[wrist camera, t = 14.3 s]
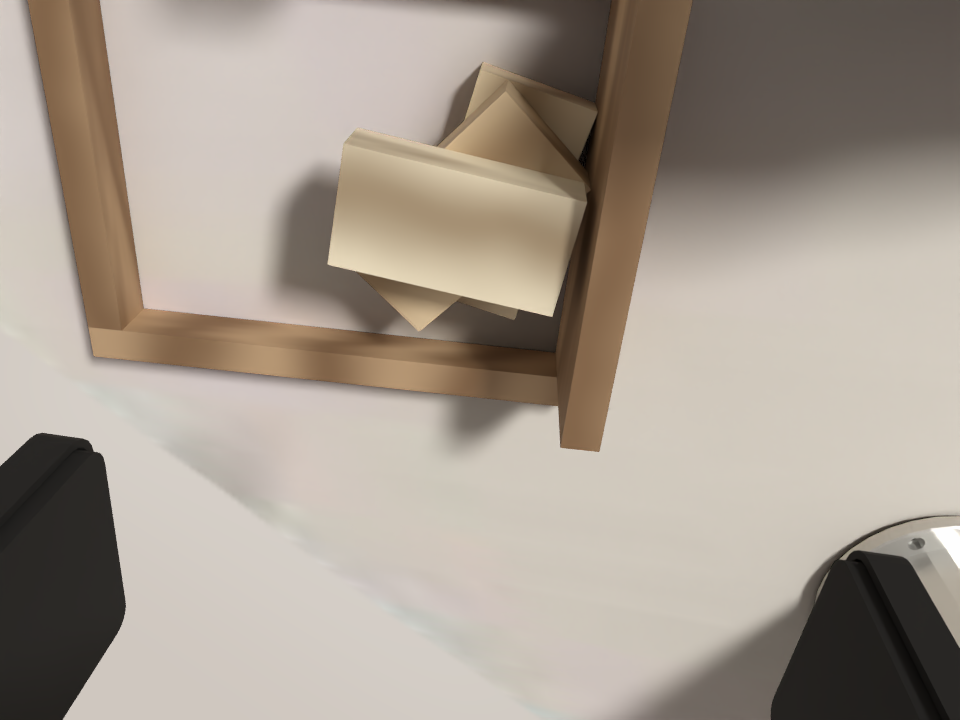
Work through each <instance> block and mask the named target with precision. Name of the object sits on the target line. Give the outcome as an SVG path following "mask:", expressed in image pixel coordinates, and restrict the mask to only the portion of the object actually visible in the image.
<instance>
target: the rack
mask: <svg viewBox="0 0 960 720" xmlns="http://www.w3.org/2000/svg"><path fill="white" fill-rule="evenodd" d="M692 1H693V0H612V1H611V7H610V13H609V20H608V26H607V32H606V39H605V45H604V51H603V57H602V64H601V70H600V76H599V83H598V89H597V95H596V101H595V104H596V108H597V111H598V113H597V115H596V118H595V120H594V123H593V125H592V128H591V133H590V139H589V145H588V152H587V158H586V164H585V169H586V170H587V172H588V175H589V181H590V187H591V190H590V191H589V192H588V193H587V194H586V198H587V205H586V208H585V211H584V214H583V218H582V221H581V224H580V228H579V231H578V234H577V237H576V241H575V244H574V247H573V250H572V254H571V259H570V265H569V271H568V277H567V284H566V290H565V296H564V303H563V309H562V315H561V321H560V328H559V334H558V340H557V346H556V353H554V352H545V351H535V350H526V349H517V348H507V347H498V346H489V345H479V344H470V343H460V342H451V341H442V340H432V339H423V338H414V337H404V336H395V335H386V334H376V333H367V332H358V331H348V330H339V329H330V328H320V327H311V326H302V325H292V324H283V323H274V322H264V321H255V320H245V319H236V318H227V317H217V316H208V315H199V314H189V313H180V312H171V311H161V310H152V309H144V308H143V301H142V294H141V287H140V280H139V273H138V266H137V259H136V252H135V245H134V238H133V231H132V224H131V217H130V210H129V203H128V196H127V189H126V182H125V175H124V168H123V161H122V154H121V147H120V140H119V133H118V126H117V119H116V112H115V105H114V98H113V92H112V85H111V78H110V71H109V64H108V57H107V50H106V43H105V36H104V29H103V22H102V15H101V8H100V1H99V0H28V5H29V10H30V16H31V21H32V27H33V32H34V37H35V43H36V48H37V53H38V59H39V64H40V70H41V75H42V80H43V86H44V91H45V97H46V102H47V107H48V113H49V118H50V124H51V129H52V134H53V140H54V145H55V150H56V156H57V161H58V167H59V172H60V177H61V183H62V188H63V194H64V199H65V204H66V210H67V215H68V220H69V226H70V231H71V237H72V242H73V247H74V253H75V258H76V264H77V269H78V274H79V280H80V285H81V291H82V296H83V301H84V307H85V312H86V317H87V323H88V328H89V334H90V339H91V344H92V350H93V355H94V356H96V357H105V358H115V359H124V360H133V361H143V362H152V363H161V364H170V365H180V366H189V367H198V368H208V369H217V370H226V371H236V372H245V373H254V374H264V375H273V376H282V377H292V378H301V379H310V380H319V381H329V382H338V383H347V384H357V385H366V386H375V387H385V388H394V389H403V390H413V391H422V392H431V393H441V394H450V395H459V396H468V397H478V398H487V399H496V400H506V401H515V402H524V403H534V404H543V405H552V406H558V409H559V428H560V447H561V448H568V449H577V450H587V451H596V452H599V451H600V446H601V441H602V436H603V431H604V426H605V422H606V417H607V412H608V407H609V402H610V398H611V393H612V388H613V383H614V378H615V373H616V369H617V364H618V359H619V354H620V349H621V344H622V340H623V335H624V330H625V325H626V320H627V315H628V311H629V306H630V301H631V296H632V291H633V286H634V282H635V277H636V272H637V267H638V262H639V257H640V253H641V248H642V243H643V238H644V233H645V228H646V224H647V219H648V214H649V209H650V204H651V199H652V195H653V190H654V185H655V180H656V175H657V170H658V166H659V161H660V156H661V151H662V146H663V142H664V137H665V132H666V127H667V122H668V117H669V113H670V108H671V103H672V98H673V93H674V88H675V84H676V79H677V74H678V69H679V64H680V59H681V55H682V50H683V45H684V40H685V35H686V30H687V26H688V21H689V16H690V11H691V6H692Z"/></svg>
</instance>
